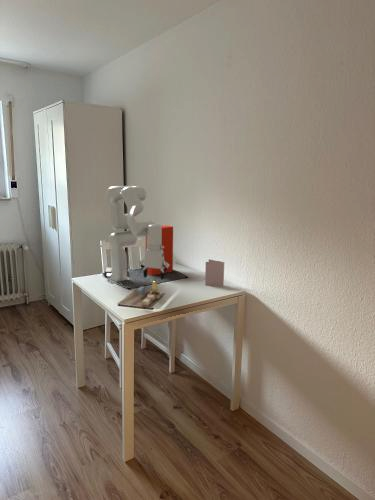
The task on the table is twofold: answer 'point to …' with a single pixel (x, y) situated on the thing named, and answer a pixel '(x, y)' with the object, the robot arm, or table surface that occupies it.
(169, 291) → the table surface
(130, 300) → the base plate
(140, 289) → the bracket
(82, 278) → the table surface
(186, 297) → the table surface
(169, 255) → the file binder
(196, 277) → the table surface
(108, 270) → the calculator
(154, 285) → the pin
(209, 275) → the greeting card
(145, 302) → the link
